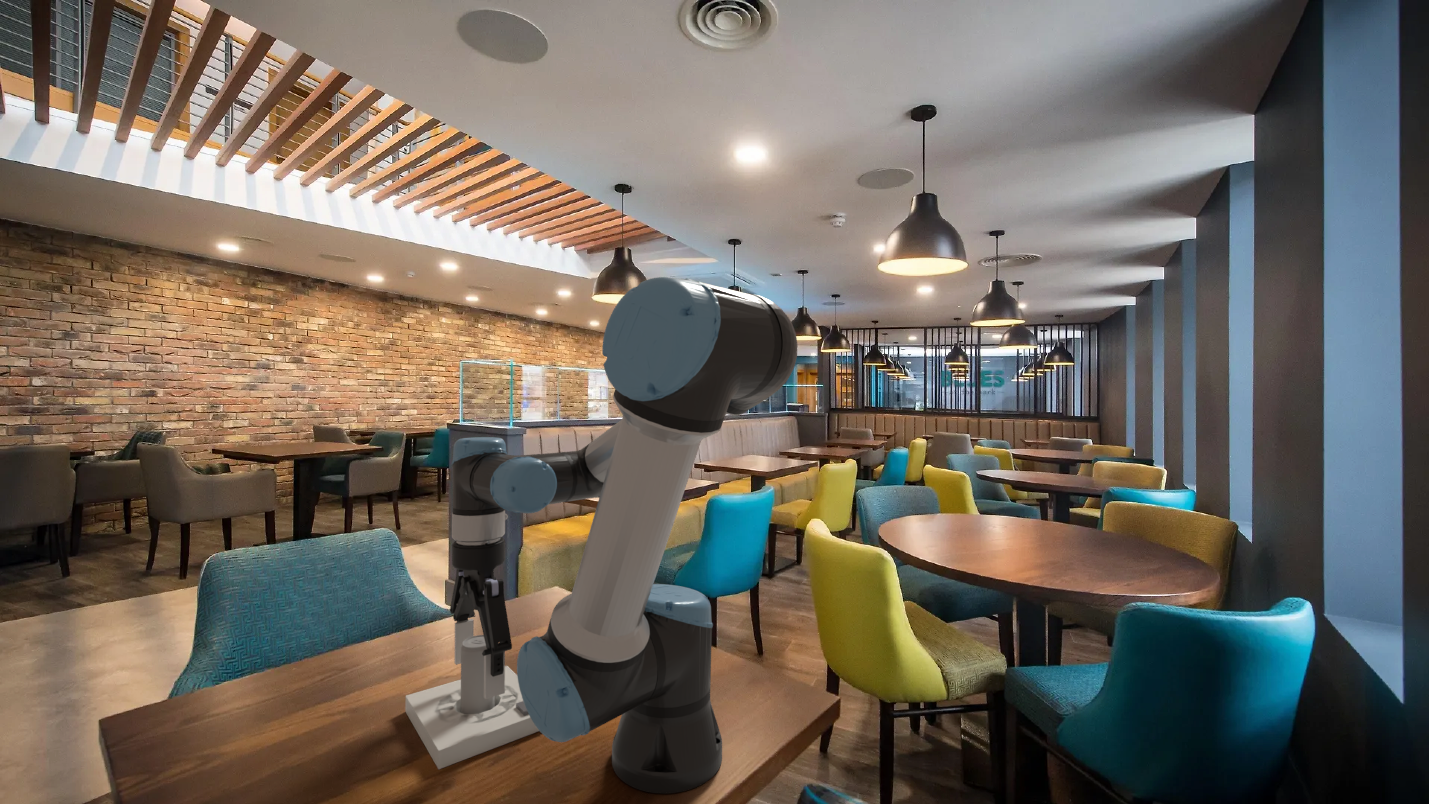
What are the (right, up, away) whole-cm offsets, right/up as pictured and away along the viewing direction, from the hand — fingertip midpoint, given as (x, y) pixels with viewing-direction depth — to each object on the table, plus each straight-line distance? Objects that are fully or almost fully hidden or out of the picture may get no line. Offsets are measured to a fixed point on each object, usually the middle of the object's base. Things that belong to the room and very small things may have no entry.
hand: (478, 677), depth 89 cm
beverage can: (0, -7, 0) cm, 7 cm away
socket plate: (0, -6, 0) cm, 6 cm away
